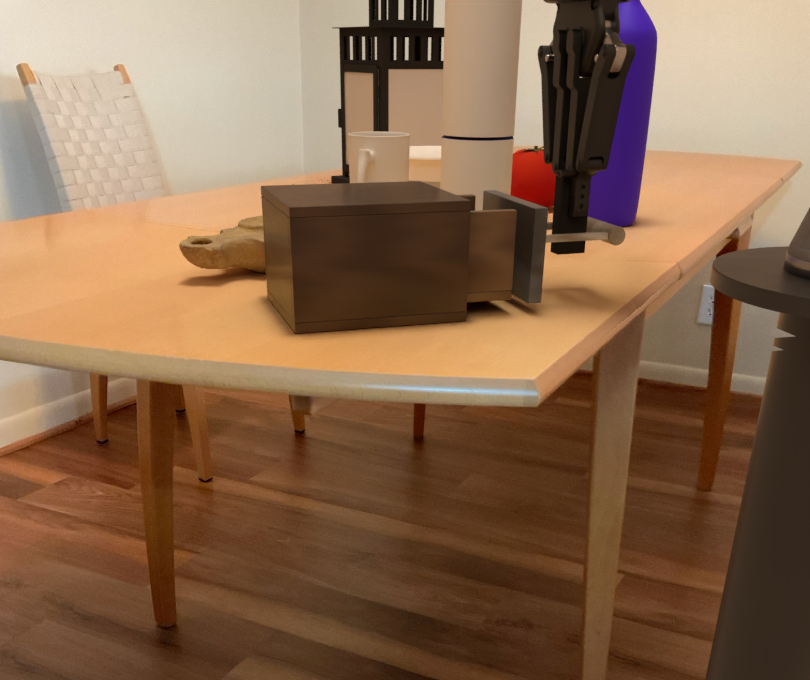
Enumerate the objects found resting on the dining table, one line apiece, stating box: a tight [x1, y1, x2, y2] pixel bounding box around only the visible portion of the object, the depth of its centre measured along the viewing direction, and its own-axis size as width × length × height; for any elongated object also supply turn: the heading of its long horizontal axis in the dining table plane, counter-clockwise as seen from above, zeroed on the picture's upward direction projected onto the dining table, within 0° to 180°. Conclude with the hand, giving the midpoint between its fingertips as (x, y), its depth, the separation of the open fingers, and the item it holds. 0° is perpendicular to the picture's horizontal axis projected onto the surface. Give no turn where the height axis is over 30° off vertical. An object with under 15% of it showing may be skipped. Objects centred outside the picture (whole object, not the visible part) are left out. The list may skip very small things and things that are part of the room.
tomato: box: [510, 145, 556, 209], centre depth 131 cm, size 9×10×8 cm
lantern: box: [330, 0, 444, 184], centre depth 145 cm, size 17×17×35 cm
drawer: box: [458, 190, 626, 305], centre depth 81 cm, size 22×11×8 cm, turn 108°
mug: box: [348, 131, 410, 183], centre depth 101 cm, size 10×7×12 cm, turn 163°
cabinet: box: [260, 181, 471, 334], centre depth 78 cm, size 15×13×10 cm
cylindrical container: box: [440, 0, 523, 211], centre depth 90 cm, size 7×7×25 cm
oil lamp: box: [178, 215, 266, 274], centre depth 92 cm, size 11×14×5 cm
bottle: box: [588, 0, 658, 228], centre depth 116 cm, size 8×8×30 cm
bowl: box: [409, 146, 441, 189], centre depth 121 cm, size 16×16×8 cm
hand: (567, 252), depth 83 cm, fingers closed
